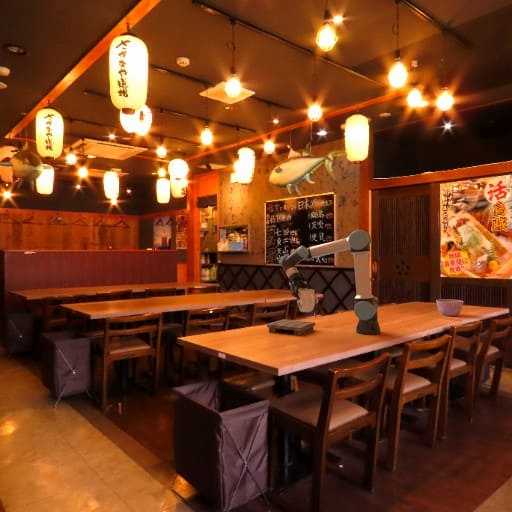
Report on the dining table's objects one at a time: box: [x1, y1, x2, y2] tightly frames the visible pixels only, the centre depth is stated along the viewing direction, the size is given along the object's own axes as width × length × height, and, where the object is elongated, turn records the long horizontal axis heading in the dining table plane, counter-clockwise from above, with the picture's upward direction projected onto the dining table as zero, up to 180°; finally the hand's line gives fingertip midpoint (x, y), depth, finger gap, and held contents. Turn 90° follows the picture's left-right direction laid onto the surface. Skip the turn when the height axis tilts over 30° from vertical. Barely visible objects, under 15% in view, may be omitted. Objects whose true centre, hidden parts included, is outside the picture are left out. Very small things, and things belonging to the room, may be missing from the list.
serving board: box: [266, 319, 316, 336], centre depth 278 cm, size 24×22×5 cm
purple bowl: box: [435, 298, 465, 317], centre depth 335 cm, size 20×20×12 cm
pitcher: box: [296, 288, 316, 313], centre depth 261 cm, size 11×18×14 cm, turn 20°
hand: (310, 302), depth 259 cm, fingers closed on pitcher, 11 cm apart
